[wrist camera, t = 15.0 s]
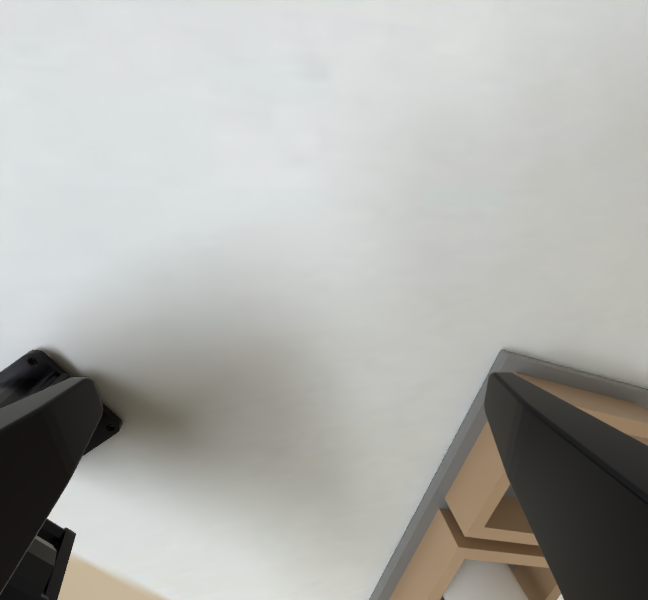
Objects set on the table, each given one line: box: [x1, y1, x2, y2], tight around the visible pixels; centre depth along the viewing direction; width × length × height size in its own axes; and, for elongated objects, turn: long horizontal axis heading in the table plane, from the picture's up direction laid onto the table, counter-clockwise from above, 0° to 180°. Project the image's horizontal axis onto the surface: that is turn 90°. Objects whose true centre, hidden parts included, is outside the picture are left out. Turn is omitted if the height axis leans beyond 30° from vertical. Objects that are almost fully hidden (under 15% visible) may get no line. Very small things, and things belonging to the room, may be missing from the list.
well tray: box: [369, 350, 648, 600], centre depth 28 cm, size 25×15×4 cm, turn 161°
